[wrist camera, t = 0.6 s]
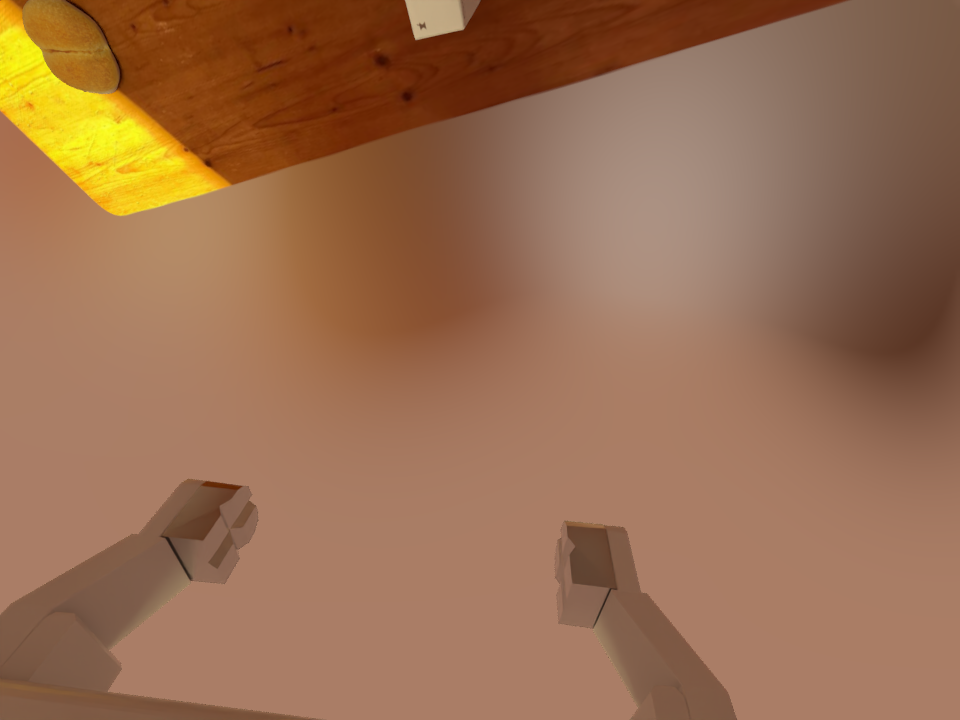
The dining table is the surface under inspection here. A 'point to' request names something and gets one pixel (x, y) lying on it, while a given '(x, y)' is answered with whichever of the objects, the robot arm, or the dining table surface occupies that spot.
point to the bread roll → (72, 45)
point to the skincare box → (439, 16)
